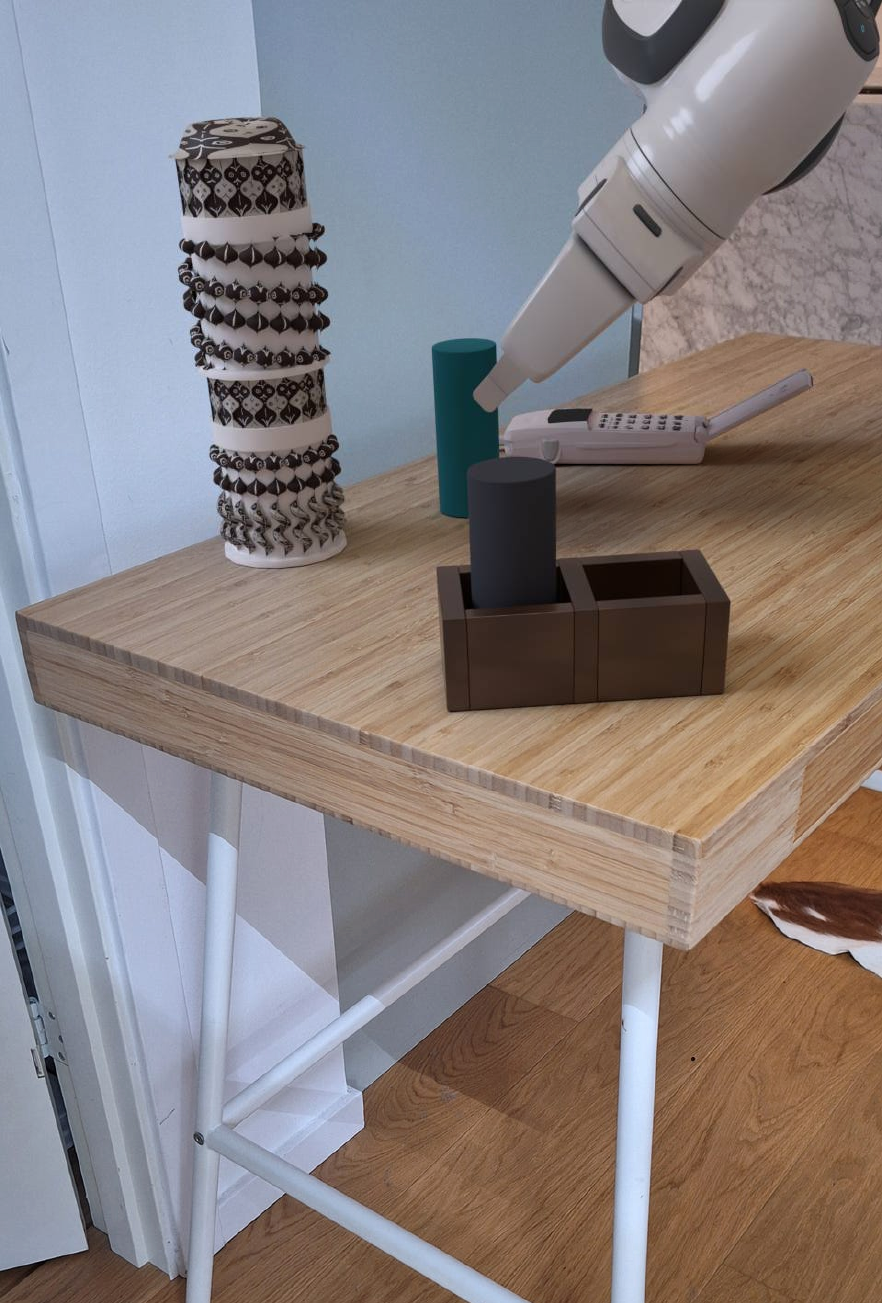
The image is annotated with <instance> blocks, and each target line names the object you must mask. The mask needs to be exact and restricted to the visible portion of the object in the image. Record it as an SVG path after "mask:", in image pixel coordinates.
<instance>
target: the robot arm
mask: <svg viewBox="0 0 882 1303" xmlns="http://www.w3.org/2000/svg"><path fill="white" fill-rule="evenodd" d="M881 6H882V0H605V1H604V6H603V10H602V18H601V44H602V51H603V54H604V56H605V58H606V59H607V61H608V62H609V64H610V66H611V68H612V70H613V72H614V73H615V74H616V76H617V77H618V79H619V80H620V81H621V83H622V84H623V85H624V86H625V87H626V88H627V89H628V90H629V91H630V92H631V93H632V94H633V95H634V96H635V97H636V98H637V99H638V100H639V101H640V102H641V103H643V104H644V106H645V107H646V108H645V109H646V110H645V112H644V113H643V114H642V116H641V117H640V118H638V119H637V120H636V121H635V122H634V123H633V124H631V126H630V127H628V129H627V130H626V131H625V132H624V134H622V136H621V137H620V138H619V139H618V141H617V142H616V143H614V145H613V146H612V147H611V149H610V150H609V151H608V152H607V153H606V154H605V156H604V157H603V158H602V159H601V161H600V162H599V163H598V164H597V165H596V166H595V167H594V168H593V170H592V171H591V172H590V173H589V174H588V176H587V177H586V178H585V179H584V180H583V181H582V182H581V184H579V186H578V188H577V196H578V207H577V212H576V214H575V215H574V218H573V219H572V221H571V227H572V231H571V233H570V235H569V237H568V238H567V241H566V242H565V243H564V244H563V245H564V246H563V247H562V248H561V250H560V251H559V253H558V254H557V255H556V258H555V259H554V260H553V262H552V263H551V264H550V266H549V267H548V268H547V270H546V271H545V273H544V274H543V276H542V277H541V278H540V280H539V281H538V283H537V284H536V286H535V287H534V288H533V289H532V291H531V292H530V293H529V295H528V297H527V298H526V299H525V301H524V302H523V304H522V305H521V307H520V308H519V309H518V311H517V313H516V314H515V315H514V317H513V318H512V320H511V321H510V323H509V324H508V326H507V327H506V330H504V332H503V335H502V336H501V338H500V341H499V346H500V348H501V350H502V351H503V352H504V353H503V354H502V355H501V356H500V358H499V359H498V360H497V363H496V365H495V366H494V367H493V369H492V370H491V372H490V373H489V374H488V376H487V377H486V378H485V379H484V380H483V381H482V382H481V383H480V385H479V386H478V387H477V388H476V389H475V390H474V393H473V396H474V399H475V400H476V401H477V403H478V404H479V405H480V406H481V407H482V408H483V409H484V410H485V411H487V412H493V411H494V410H495V409H496V408H497V407H498V408H499V407H500V405H501V404H502V403H503V402H504V401H505V400H506V399H507V398H508V396H510V395H511V394H512V393H513V392H514V391H515V390H517V389H518V388H519V387H521V385H522V384H524V383H525V382H526V381H527V380H528V379H529V380H530V381H531V382H532V383H534V384H541V383H542V382H544V381H546V380H548V379H549V378H550V377H552V376H553V375H554V374H555V373H557V372H558V371H559V370H561V369H562V368H563V367H564V366H565V365H567V364H568V363H569V362H570V361H572V359H574V358H575V357H576V356H577V355H578V354H579V353H580V352H581V351H583V350H584V349H585V348H586V347H587V346H589V344H591V343H592V342H593V341H594V340H595V339H597V337H599V336H600V335H601V334H602V333H603V332H605V330H607V329H608V328H609V327H610V326H611V325H612V324H613V323H615V322H616V321H617V320H618V319H619V318H620V317H622V316H623V315H624V314H625V313H626V312H627V311H628V310H630V309H631V308H632V307H634V305H637V303H638V302H639V304H640V305H642V306H645V305H647V304H648V303H649V302H651V301H653V300H654V299H655V298H656V297H661V296H665V297H673V296H674V295H676V294H677V292H679V290H680V289H681V288H682V287H684V285H685V284H687V282H688V281H689V280H690V279H691V278H692V277H693V276H694V275H695V274H696V273H697V271H699V269H700V268H701V267H702V266H703V265H704V264H705V263H706V262H707V261H708V260H709V259H710V258H711V257H712V256H713V255H714V254H715V253H716V252H717V250H718V249H719V248H720V247H722V245H723V244H724V243H725V242H727V240H728V239H729V238H731V236H732V235H733V233H734V232H735V231H736V229H737V227H738V225H739V223H740V222H741V220H742V218H743V216H745V213H746V212H747V211H748V210H749V208H750V207H751V206H752V205H753V204H754V203H755V202H756V200H757V199H759V198H760V197H763V196H767V195H771V194H774V193H777V192H780V191H783V190H785V189H786V188H789V187H791V186H792V185H795V184H797V183H798V182H799V181H801V180H802V179H804V178H805V177H806V176H808V175H809V174H810V173H811V172H812V171H813V170H814V169H815V168H816V167H817V166H818V165H819V164H820V162H821V161H823V159H824V158H825V156H826V155H827V153H828V152H829V150H830V149H831V147H832V146H833V144H834V142H835V140H836V139H837V136H838V135H839V132H840V130H841V128H842V124H843V122H844V120H845V116H846V114H847V110H848V109H849V107H850V106H851V105H852V104H853V102H854V101H855V99H856V98H857V96H858V95H859V94H860V93H861V91H862V90H863V88H864V86H865V84H866V83H867V81H868V80H869V78H870V76H871V75H872V73H873V71H874V69H875V68H876V65H877V63H878V60H879V58H880V55H881V48H880V45H881V44H880V42H881V37H880V32H879V28H878V24H877V21H876V20H877V19H876V18H877V15H878V13H879V11H880V8H881Z"/></svg>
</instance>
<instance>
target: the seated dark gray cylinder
mask: <svg viewBox="0 0 882 1303" xmlns="http://www.w3.org/2000/svg"><path fill="white" fill-rule="evenodd" d="M467 487H468V512H469V518H468V535H469V557H470V559H469V560H470V561H469V562H470V564H471V587H472V609H483V608H498V607H514V606H529V605H544V604H556V559H557V467H556V465H555V464H553V463H551V462H549V461H546V460H543V459H538V458H532V457H511V456H504V457H499V458H495V459H489V460H485V461H482V462H479V463H476V464H474V465H472V466H471V467H470V468H469V469H468V471H467Z"/></svg>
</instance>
